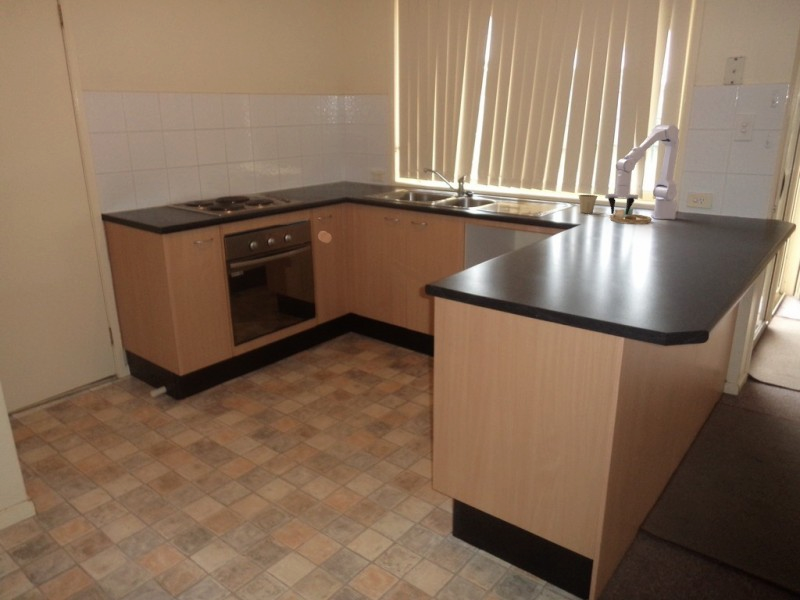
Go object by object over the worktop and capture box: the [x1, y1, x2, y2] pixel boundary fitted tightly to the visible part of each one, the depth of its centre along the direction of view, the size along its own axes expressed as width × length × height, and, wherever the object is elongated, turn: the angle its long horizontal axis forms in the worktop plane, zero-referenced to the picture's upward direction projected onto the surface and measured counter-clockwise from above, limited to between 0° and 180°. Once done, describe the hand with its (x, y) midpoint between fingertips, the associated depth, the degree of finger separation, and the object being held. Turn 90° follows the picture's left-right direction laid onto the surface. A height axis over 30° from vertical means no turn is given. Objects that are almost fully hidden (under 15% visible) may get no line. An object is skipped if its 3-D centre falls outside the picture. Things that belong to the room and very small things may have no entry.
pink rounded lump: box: [317, 230, 333, 244], centre depth 231 cm, size 4×4×4 cm
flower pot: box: [578, 194, 599, 214], centre depth 306 cm, size 9×9×9 cm
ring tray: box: [609, 213, 653, 225], centre depth 285 cm, size 18×18×2 cm
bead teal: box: [623, 207, 634, 218], centre depth 289 cm, size 4×4×4 cm
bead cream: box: [614, 208, 624, 219], centre depth 285 cm, size 4×4×4 cm
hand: (619, 214), depth 285 cm, fingers open, 6 cm apart
